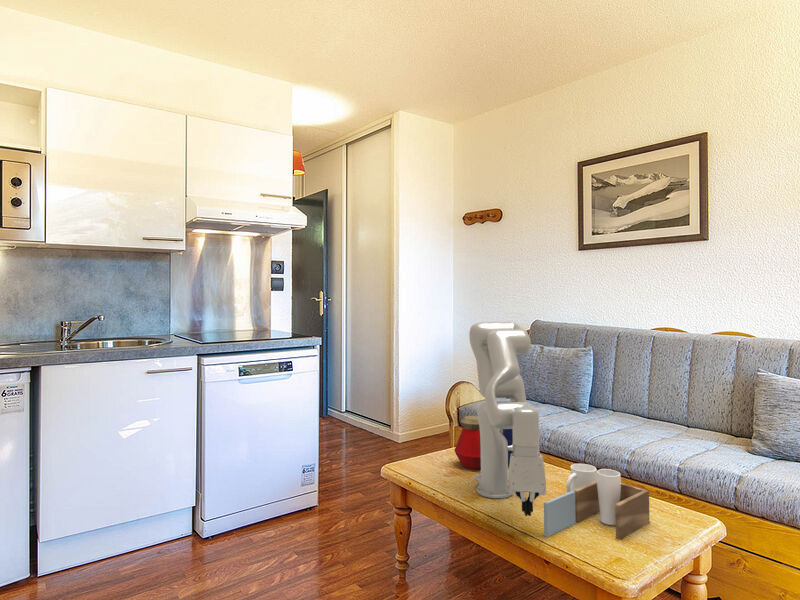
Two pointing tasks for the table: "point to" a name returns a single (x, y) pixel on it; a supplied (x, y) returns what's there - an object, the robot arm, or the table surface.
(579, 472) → the mug
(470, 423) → the red faceted jar
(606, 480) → the drinking glass
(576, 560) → the table surface
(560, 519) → the thin blue-gray plank
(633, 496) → the u-shaped wooden frame
